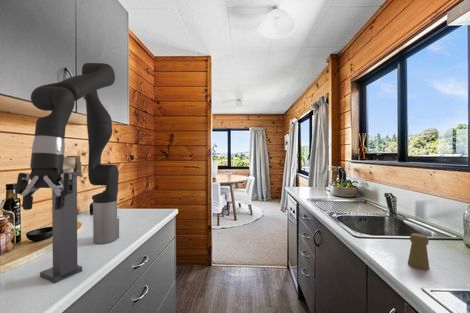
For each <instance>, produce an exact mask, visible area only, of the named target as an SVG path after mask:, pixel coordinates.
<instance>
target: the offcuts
mask: <svg viewBox="0 0 470 313" xmlns="http://www.w3.org/2000/svg"><path fill="white" fill-rule="evenodd" d="M66 157H75V168H74V172H82V162H81V155H66Z"/></svg>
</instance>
